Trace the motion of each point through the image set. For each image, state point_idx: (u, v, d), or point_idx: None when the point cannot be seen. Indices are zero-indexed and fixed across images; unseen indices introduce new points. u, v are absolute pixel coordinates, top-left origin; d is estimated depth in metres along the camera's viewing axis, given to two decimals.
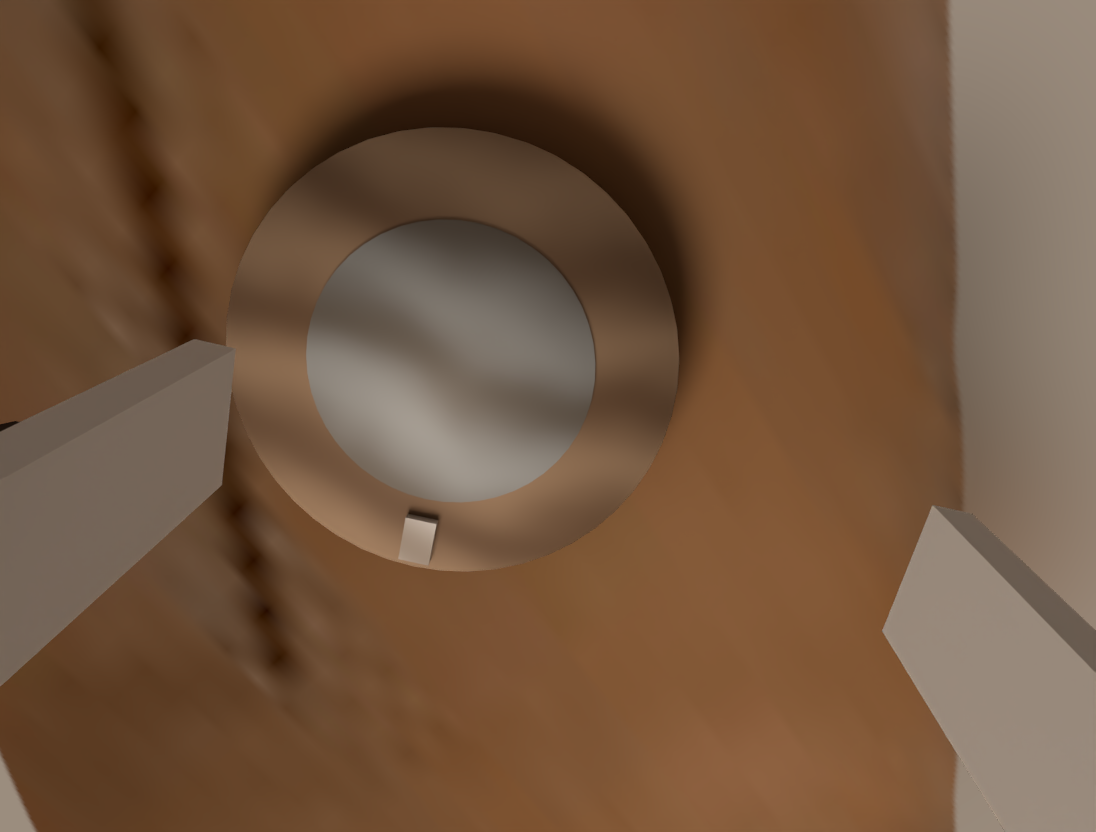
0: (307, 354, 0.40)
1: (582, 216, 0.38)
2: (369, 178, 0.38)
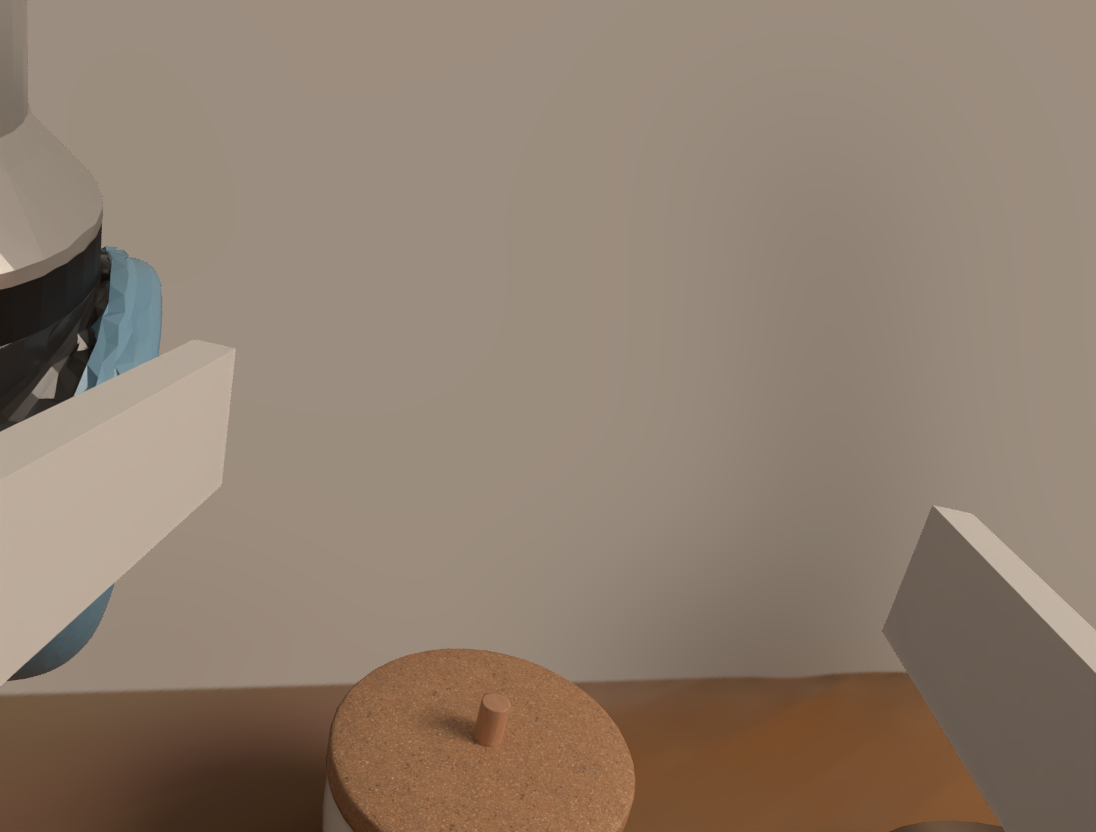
0: None
1: None
2: None
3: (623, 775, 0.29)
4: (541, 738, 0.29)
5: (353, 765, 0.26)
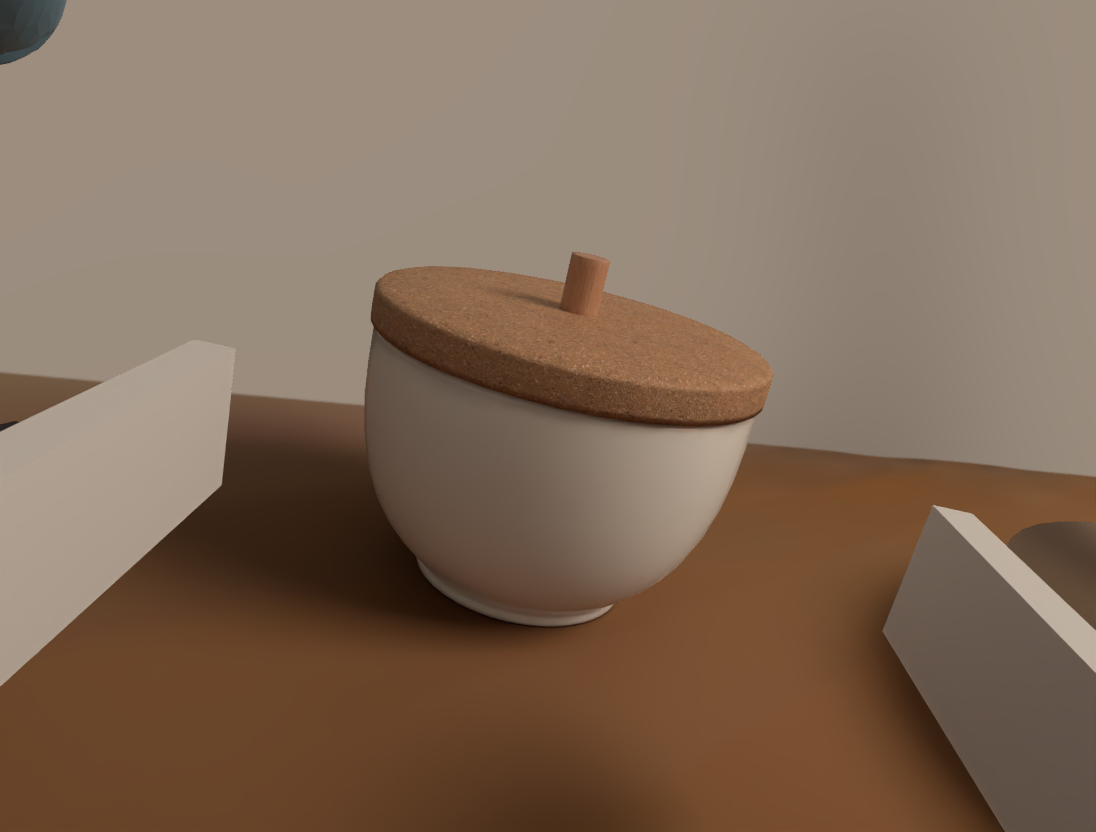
0: None
1: (1058, 571, 0.25)
2: None
3: (755, 357, 0.22)
4: (645, 322, 0.23)
5: (410, 297, 0.20)
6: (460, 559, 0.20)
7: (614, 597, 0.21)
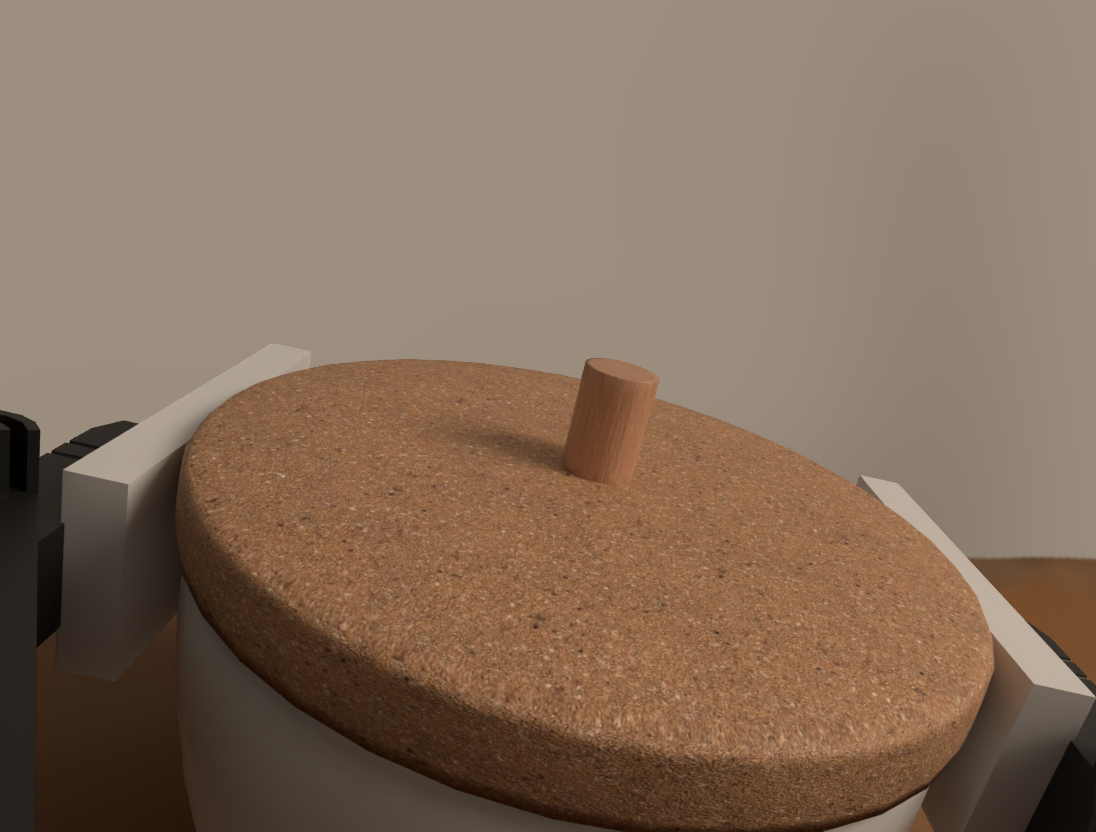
0: None
1: None
2: None
3: (936, 560, 0.11)
4: (720, 484, 0.12)
5: (240, 479, 0.09)
6: None
7: None
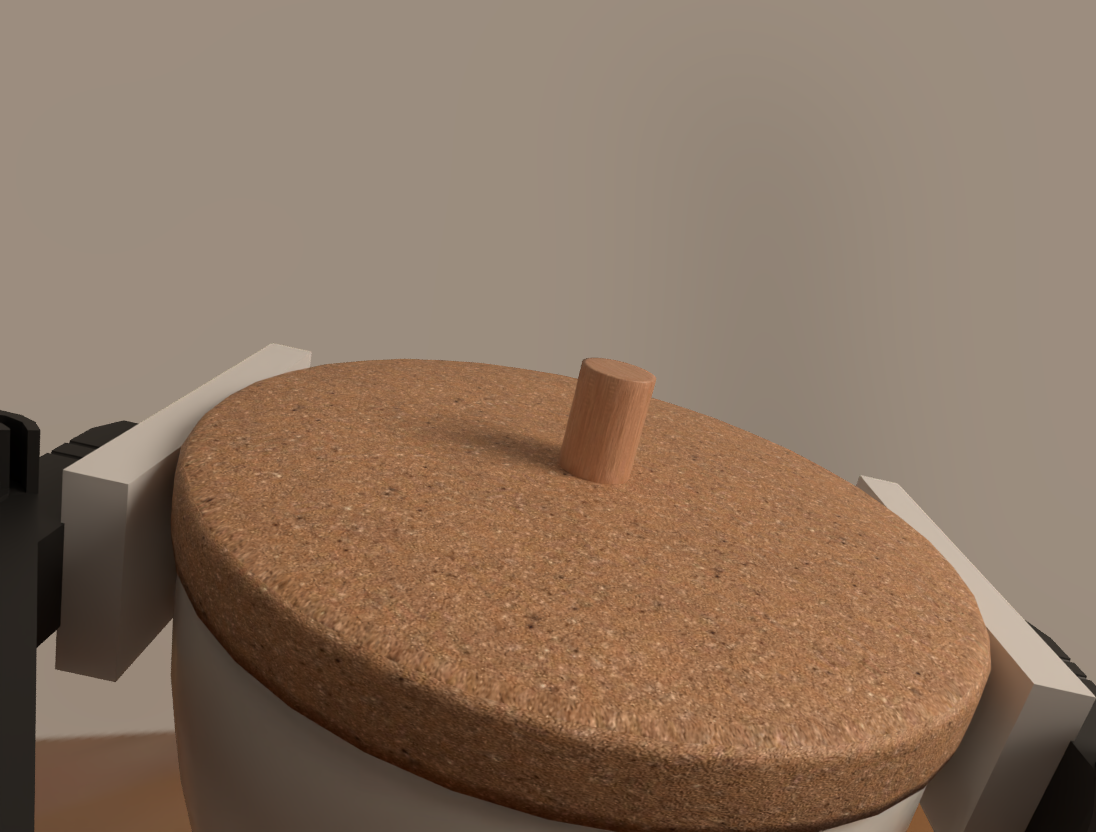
0: None
1: None
2: None
3: (934, 560, 0.11)
4: (717, 484, 0.12)
5: (236, 479, 0.09)
6: None
7: None
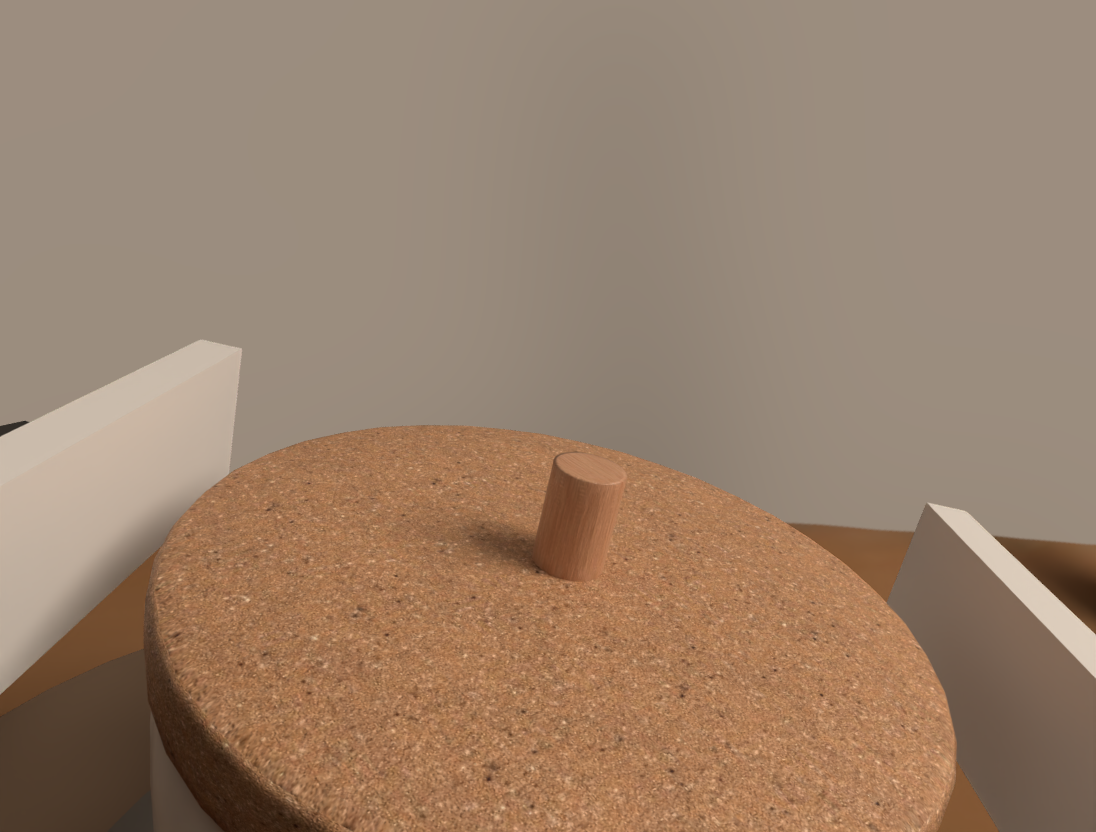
0: None
1: (139, 695, 0.19)
2: None
3: (906, 651, 0.12)
4: (692, 570, 0.12)
5: (205, 606, 0.09)
6: None
7: None
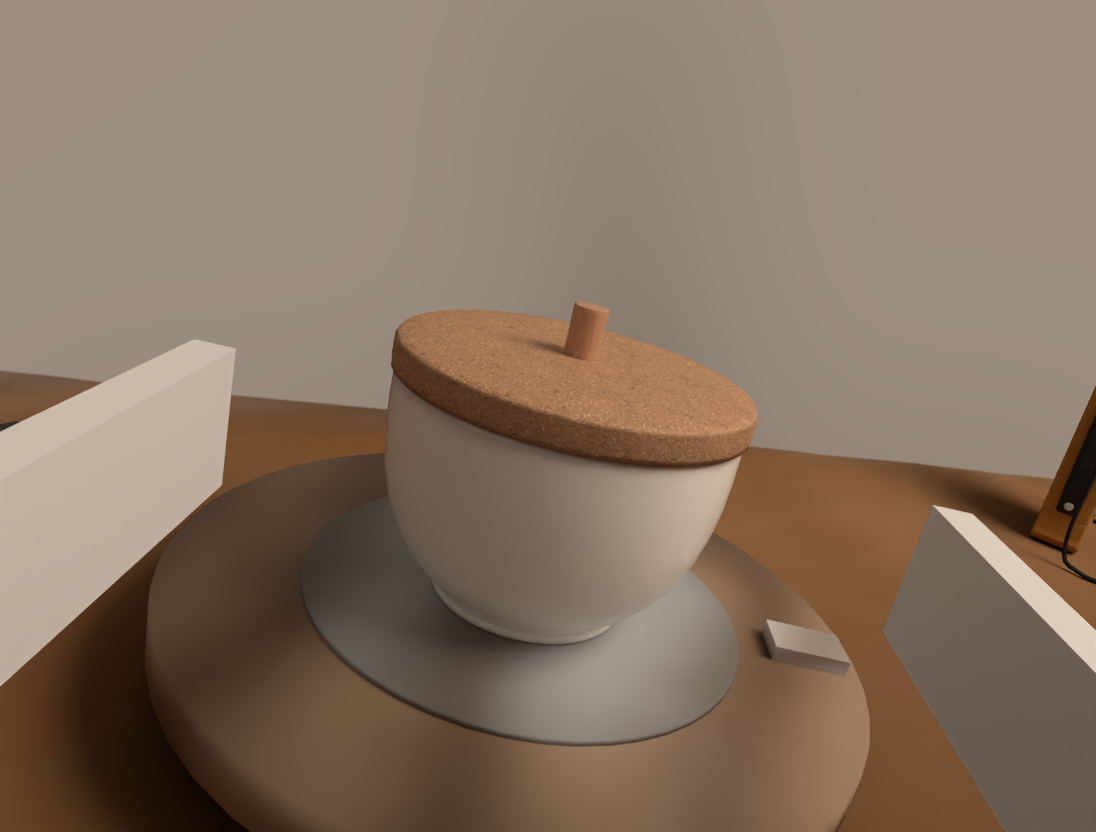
0: (539, 738, 0.20)
1: (317, 481, 0.31)
2: (216, 627, 0.22)
3: (742, 398, 0.24)
4: (641, 365, 0.25)
5: (428, 347, 0.22)
6: (473, 585, 0.22)
7: (613, 619, 0.23)
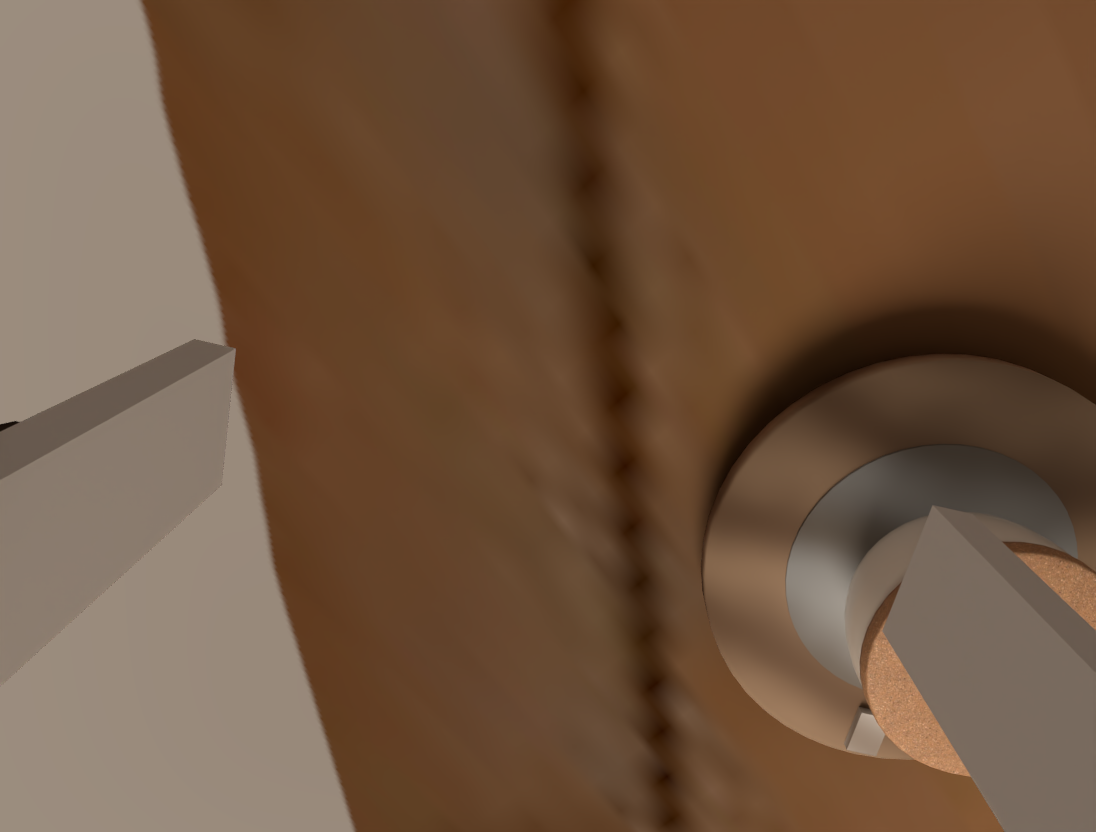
0: (788, 563, 0.41)
1: (1087, 443, 0.39)
2: (880, 406, 0.39)
3: (951, 766, 0.35)
4: None
5: None
6: (868, 552, 0.38)
7: None
